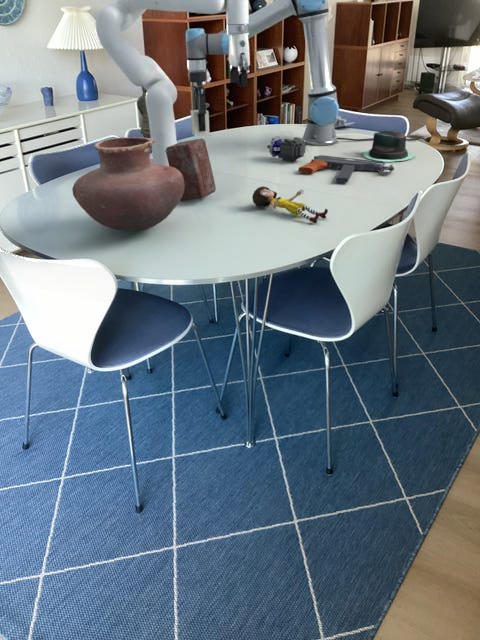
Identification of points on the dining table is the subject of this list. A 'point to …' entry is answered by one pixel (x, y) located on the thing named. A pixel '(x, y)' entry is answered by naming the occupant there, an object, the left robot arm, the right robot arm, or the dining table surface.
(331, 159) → the submachine gun
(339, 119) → the camera
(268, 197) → the figurine
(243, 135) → the dining table surface
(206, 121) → the brick
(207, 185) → the rough terracotta slab
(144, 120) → the statue
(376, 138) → the dark porkpie hat
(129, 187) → the clay pot
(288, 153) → the toy
